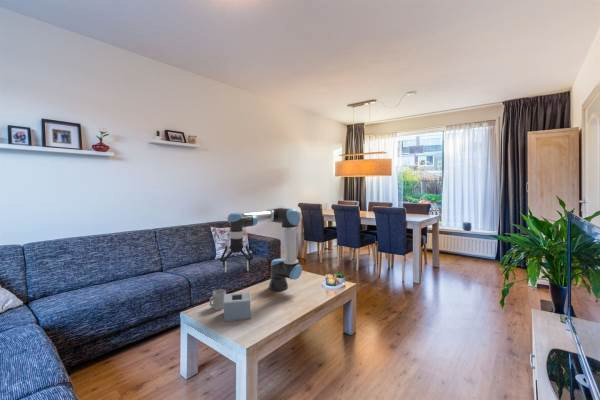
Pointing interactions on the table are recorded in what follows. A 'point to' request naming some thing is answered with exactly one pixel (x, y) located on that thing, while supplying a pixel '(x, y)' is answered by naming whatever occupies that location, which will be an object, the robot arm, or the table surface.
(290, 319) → the table surface
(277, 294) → the table surface
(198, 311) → the table surface
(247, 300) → the grey box with hole
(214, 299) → the mug
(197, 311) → the table surface
